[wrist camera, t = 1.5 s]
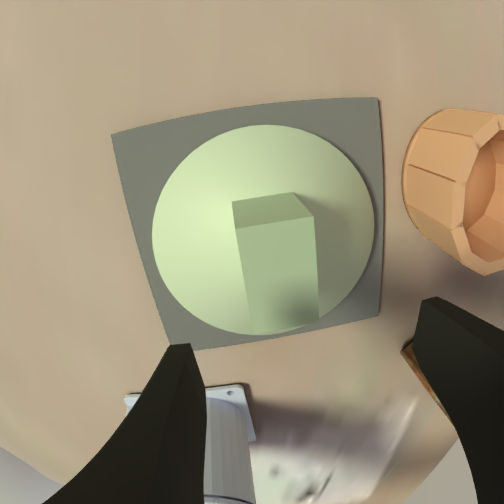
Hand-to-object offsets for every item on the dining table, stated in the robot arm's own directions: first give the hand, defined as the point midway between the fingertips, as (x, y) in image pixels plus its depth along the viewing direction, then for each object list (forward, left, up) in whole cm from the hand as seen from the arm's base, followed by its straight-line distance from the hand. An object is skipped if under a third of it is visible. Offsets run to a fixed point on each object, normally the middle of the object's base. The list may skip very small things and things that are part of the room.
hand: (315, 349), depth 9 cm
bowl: (+13, +2, -10) cm, 16 cm away
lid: (0, 0, -9) cm, 9 cm away
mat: (0, 0, -10) cm, 10 cm away
